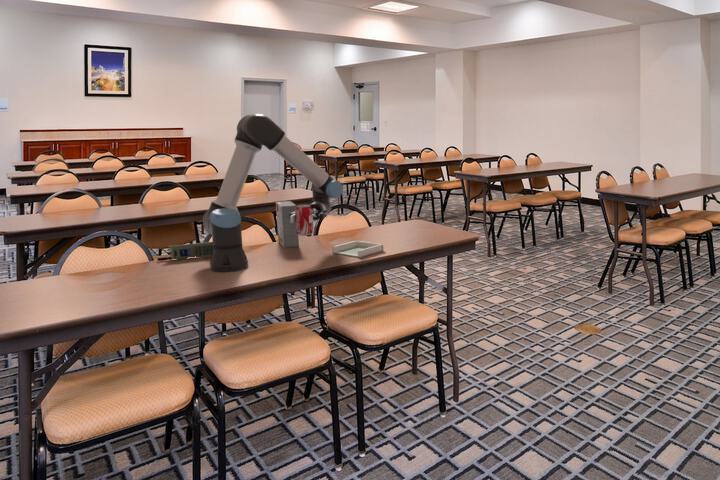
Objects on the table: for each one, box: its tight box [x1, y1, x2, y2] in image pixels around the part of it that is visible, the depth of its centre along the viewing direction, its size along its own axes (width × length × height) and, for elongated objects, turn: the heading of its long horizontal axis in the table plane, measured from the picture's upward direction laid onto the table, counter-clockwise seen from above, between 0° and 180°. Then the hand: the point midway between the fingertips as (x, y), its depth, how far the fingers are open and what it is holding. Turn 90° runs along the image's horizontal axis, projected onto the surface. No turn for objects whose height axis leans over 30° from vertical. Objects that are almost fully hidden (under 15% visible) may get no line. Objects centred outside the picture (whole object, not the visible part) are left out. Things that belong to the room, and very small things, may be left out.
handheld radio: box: [157, 241, 213, 262], centre depth 249 cm, size 7×3×25 cm
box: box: [331, 240, 384, 259], centre depth 251 cm, size 16×16×3 cm
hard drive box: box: [275, 200, 300, 249], centre depth 271 cm, size 16×8×20 cm, turn 17°
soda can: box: [295, 204, 314, 237], centre depth 232 cm, size 7×7×12 cm
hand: (300, 219), depth 227 cm, fingers closed on soda can, 7 cm apart
